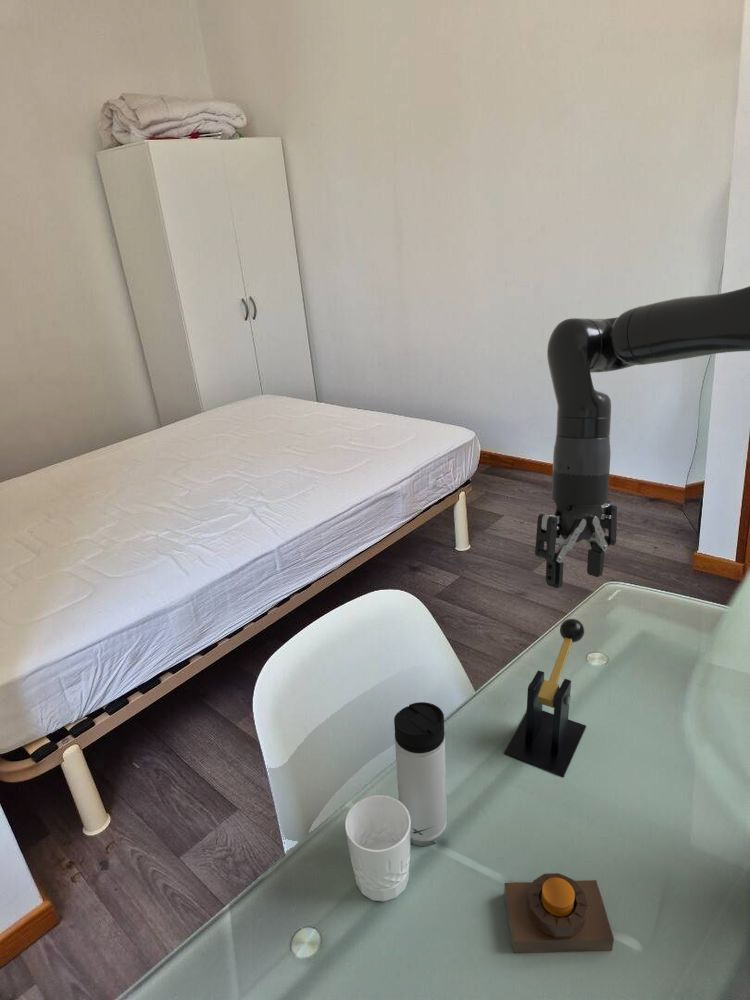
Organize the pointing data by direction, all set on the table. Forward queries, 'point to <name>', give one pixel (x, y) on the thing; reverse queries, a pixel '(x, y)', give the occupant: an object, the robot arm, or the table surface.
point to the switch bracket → (546, 731)
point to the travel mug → (422, 770)
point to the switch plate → (557, 919)
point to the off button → (558, 897)
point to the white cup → (379, 846)
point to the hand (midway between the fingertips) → (575, 580)
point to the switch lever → (560, 660)
